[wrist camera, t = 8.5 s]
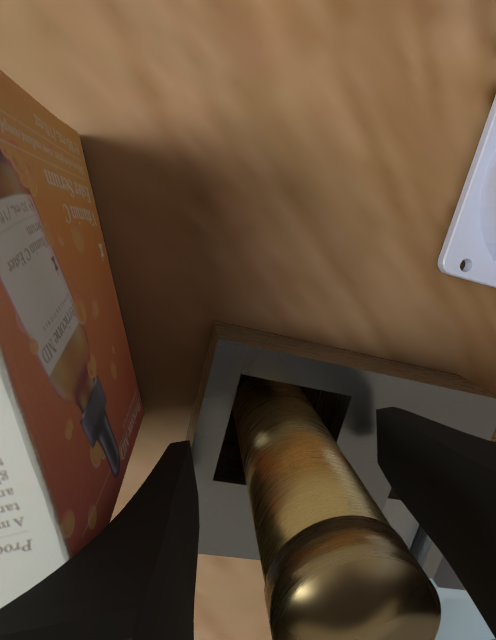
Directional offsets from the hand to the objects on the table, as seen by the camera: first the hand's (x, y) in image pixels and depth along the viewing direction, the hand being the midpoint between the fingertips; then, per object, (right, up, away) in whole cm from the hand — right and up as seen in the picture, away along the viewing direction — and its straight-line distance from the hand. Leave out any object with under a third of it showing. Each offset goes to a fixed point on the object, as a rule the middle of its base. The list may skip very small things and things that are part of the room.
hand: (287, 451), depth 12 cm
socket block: (+2, -1, +4) cm, 4 cm away
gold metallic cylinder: (0, +1, +3) cm, 3 cm away
